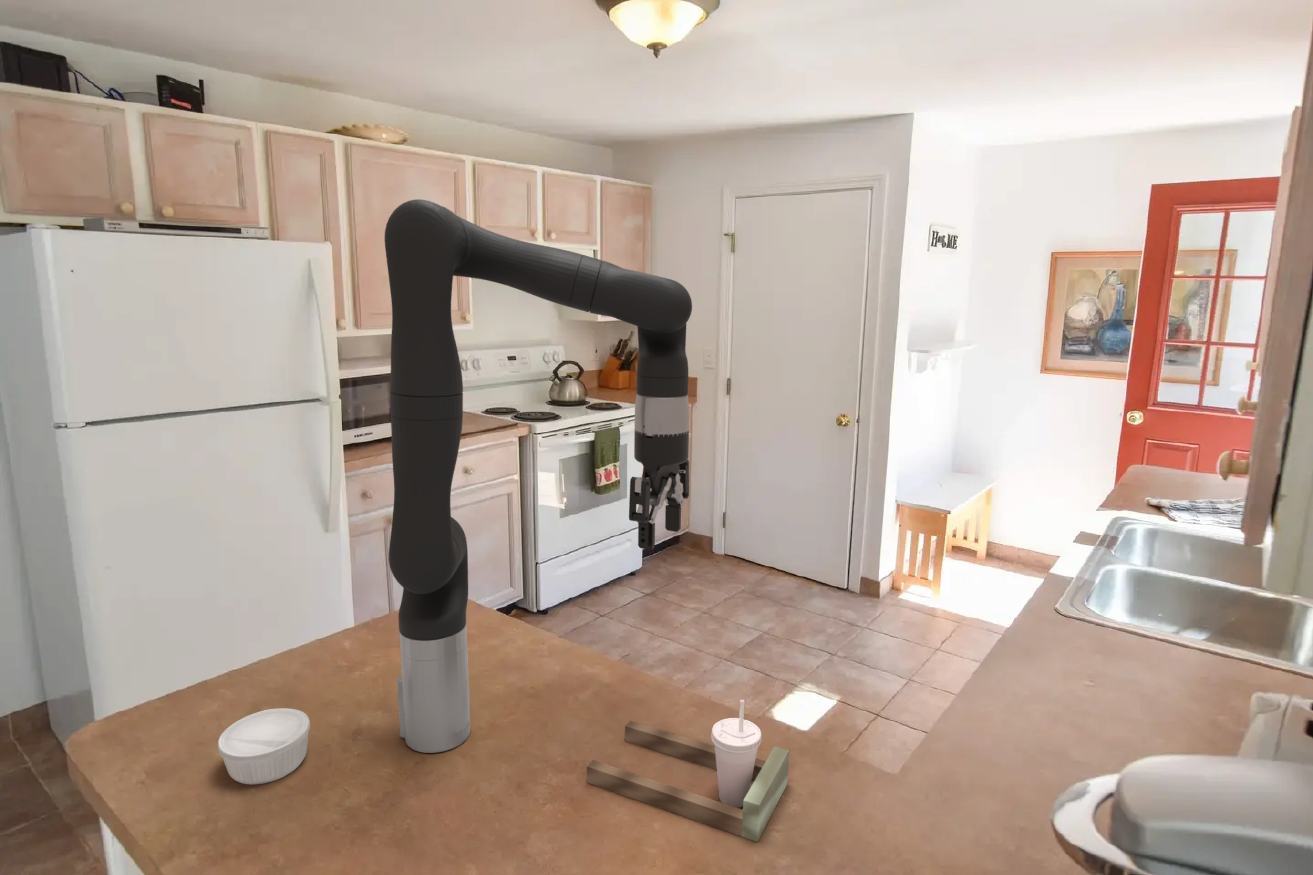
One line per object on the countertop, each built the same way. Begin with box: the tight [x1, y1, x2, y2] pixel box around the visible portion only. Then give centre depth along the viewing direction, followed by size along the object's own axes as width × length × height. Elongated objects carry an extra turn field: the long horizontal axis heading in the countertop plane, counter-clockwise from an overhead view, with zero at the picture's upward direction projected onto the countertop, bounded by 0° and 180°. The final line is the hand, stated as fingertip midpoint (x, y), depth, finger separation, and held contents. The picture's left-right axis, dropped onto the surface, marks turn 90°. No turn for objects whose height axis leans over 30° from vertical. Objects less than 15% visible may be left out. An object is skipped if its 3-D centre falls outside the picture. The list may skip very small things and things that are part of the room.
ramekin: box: [217, 707, 311, 785], centre depth 104 cm, size 11×11×5 cm
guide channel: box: [586, 720, 790, 843], centre depth 101 cm, size 24×12×5 cm, turn 64°
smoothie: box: [710, 699, 762, 809], centre depth 98 cm, size 6×6×14 cm
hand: (660, 539), depth 108 cm, fingers open, 8 cm apart
